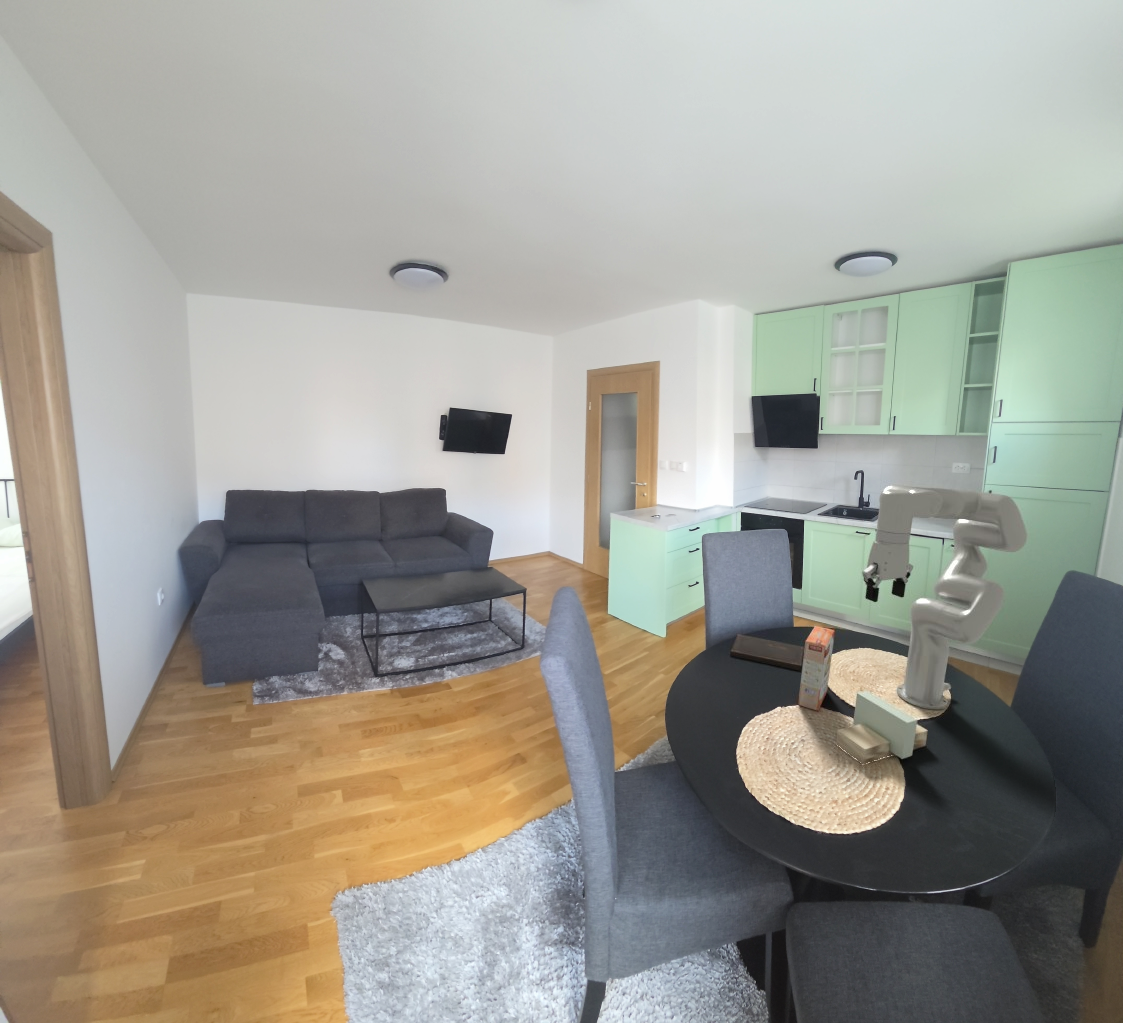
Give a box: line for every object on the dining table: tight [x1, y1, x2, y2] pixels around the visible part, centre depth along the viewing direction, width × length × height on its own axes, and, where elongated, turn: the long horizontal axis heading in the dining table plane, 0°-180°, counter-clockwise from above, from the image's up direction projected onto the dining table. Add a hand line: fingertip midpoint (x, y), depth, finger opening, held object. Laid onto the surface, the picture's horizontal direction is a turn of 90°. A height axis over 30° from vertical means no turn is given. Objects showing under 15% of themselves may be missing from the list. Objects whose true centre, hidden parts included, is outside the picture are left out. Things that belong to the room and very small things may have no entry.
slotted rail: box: [835, 723, 928, 765], centre depth 131 cm, size 22×8×4 cm, turn 109°
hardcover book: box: [730, 633, 805, 672], centre depth 181 cm, size 16×23×2 cm
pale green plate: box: [852, 690, 918, 760], centre depth 130 cm, size 4×14×10 cm, turn 19°
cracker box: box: [798, 625, 836, 712], centre depth 151 cm, size 14×6×21 cm, turn 142°
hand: (884, 598), depth 136 cm, fingers open, 9 cm apart
